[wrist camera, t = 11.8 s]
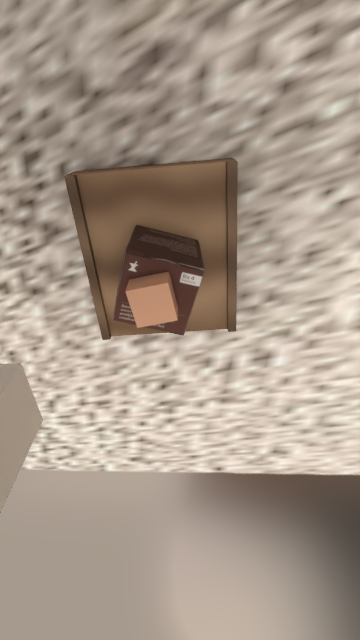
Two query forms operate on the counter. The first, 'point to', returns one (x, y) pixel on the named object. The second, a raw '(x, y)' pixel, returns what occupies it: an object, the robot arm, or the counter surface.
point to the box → (158, 257)
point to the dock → (164, 215)
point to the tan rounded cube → (152, 299)
